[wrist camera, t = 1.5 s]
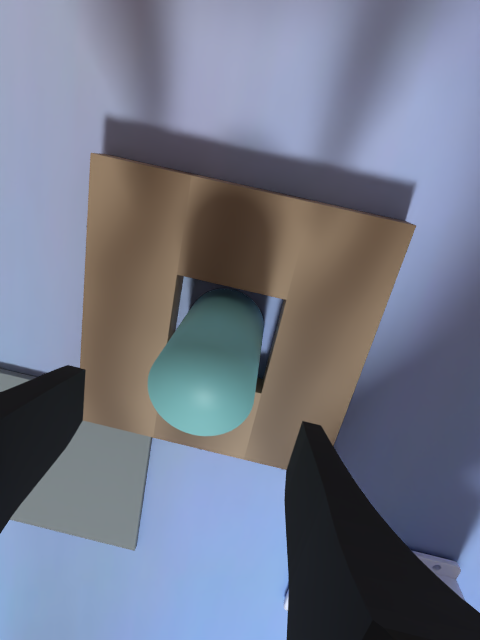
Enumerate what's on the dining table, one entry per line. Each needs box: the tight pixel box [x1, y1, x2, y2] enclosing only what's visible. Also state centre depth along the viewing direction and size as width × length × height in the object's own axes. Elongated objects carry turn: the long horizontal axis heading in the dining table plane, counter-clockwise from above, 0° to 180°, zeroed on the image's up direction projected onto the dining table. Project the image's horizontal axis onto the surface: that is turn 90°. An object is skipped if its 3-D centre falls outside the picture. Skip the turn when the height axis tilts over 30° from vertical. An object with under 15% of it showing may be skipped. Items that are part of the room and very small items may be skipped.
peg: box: [148, 289, 264, 436], centre depth 17 cm, size 4×4×6 cm
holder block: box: [80, 153, 416, 470], centre depth 19 cm, size 14×14×2 cm
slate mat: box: [0, 368, 152, 551], centre depth 25 cm, size 12×12×1 cm
